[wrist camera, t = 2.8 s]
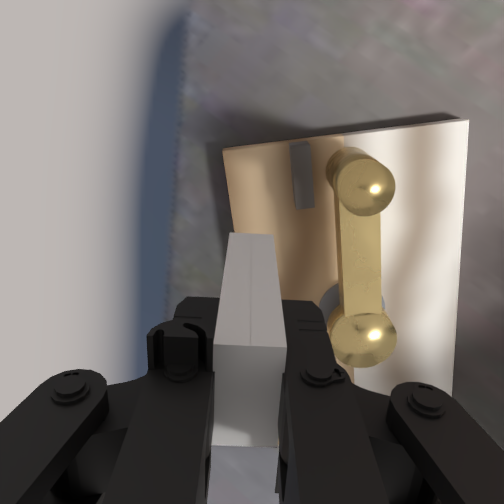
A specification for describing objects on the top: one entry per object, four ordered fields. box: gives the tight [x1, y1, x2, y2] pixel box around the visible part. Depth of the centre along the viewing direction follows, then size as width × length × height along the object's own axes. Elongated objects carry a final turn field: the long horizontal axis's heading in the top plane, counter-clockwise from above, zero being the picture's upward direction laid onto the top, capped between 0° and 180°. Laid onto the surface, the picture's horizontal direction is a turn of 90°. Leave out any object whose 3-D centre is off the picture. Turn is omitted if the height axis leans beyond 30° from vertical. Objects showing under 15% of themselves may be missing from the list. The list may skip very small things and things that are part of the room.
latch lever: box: [325, 147, 397, 368], centre depth 28 cm, size 15×4×5 cm, turn 7°
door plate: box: [222, 118, 469, 444], centre depth 31 cm, size 16×26×6 cm, turn 7°
